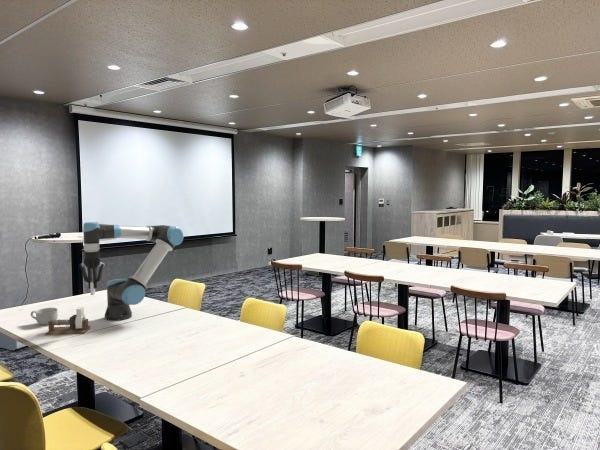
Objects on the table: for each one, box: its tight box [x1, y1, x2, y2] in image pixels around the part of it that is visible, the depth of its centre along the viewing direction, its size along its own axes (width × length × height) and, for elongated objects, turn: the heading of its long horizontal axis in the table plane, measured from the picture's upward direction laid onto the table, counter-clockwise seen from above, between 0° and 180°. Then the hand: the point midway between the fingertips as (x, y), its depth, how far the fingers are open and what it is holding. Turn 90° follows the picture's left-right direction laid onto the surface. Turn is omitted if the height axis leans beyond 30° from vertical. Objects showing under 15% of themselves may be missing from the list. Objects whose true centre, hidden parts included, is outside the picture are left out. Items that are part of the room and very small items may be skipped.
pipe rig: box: [44, 318, 92, 336], centre depth 230 cm, size 19×11×6 cm, turn 98°
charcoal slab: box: [69, 314, 77, 330], centre depth 230 cm, size 2×6×6 cm, turn 8°
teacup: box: [30, 307, 59, 326], centre depth 243 cm, size 14×11×8 cm
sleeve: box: [75, 306, 86, 328], centre depth 231 cm, size 3×6×10 cm, turn 8°
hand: (92, 294), depth 231 cm, fingers closed
